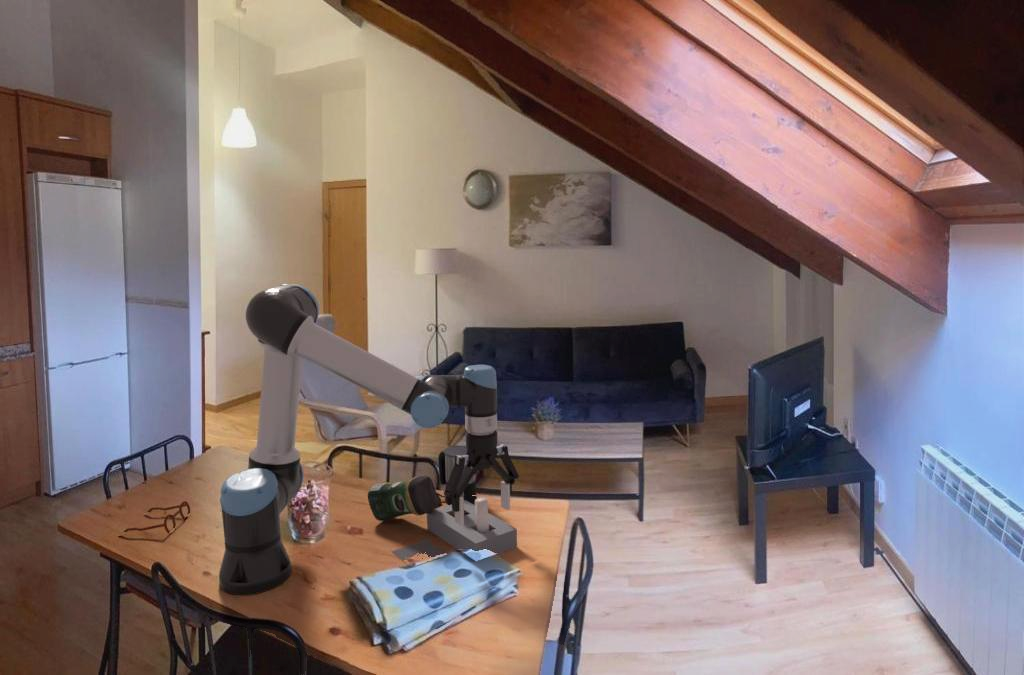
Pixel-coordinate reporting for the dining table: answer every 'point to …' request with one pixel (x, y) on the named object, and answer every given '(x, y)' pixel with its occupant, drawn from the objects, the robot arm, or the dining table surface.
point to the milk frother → (446, 468)
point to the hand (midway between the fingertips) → (483, 515)
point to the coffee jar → (403, 498)
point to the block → (471, 530)
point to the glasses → (165, 517)
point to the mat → (418, 550)
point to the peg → (482, 515)
